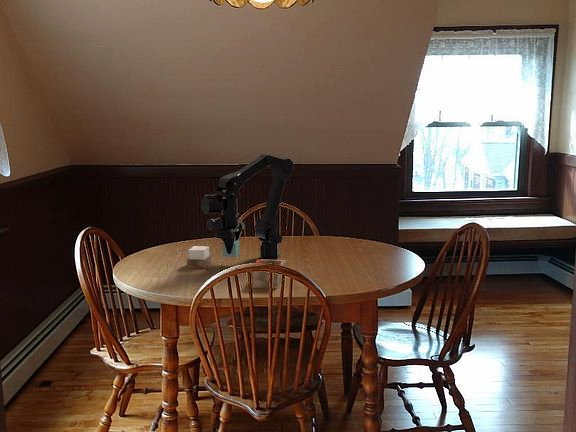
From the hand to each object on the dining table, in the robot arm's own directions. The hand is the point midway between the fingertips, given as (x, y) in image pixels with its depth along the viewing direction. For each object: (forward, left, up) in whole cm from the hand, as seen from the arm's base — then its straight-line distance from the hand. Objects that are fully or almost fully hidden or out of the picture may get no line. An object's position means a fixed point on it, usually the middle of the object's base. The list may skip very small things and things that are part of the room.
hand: (231, 252), depth 223 cm
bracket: (-17, +18, -5) cm, 25 cm away
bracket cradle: (-18, +19, -5) cm, 27 cm away
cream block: (+12, +2, -2) cm, 12 cm away
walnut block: (+12, +2, -5) cm, 13 cm away
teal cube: (0, 0, -1) cm, 1 cm away
